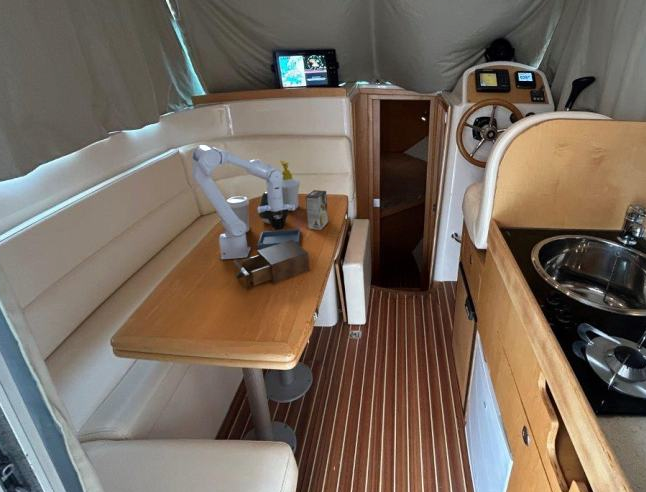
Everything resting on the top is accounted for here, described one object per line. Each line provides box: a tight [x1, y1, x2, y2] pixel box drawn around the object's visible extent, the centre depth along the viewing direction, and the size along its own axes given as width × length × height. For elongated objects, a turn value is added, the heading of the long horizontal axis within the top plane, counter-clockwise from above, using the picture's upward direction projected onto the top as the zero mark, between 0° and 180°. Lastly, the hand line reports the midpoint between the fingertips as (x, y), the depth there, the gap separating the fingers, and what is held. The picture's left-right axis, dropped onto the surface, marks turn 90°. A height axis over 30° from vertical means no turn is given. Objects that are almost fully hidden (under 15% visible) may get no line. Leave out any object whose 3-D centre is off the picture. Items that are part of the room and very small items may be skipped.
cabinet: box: [257, 240, 310, 285], centre depth 131 cm, size 14×13×8 cm
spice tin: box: [273, 214, 285, 231], centre depth 151 cm, size 4×4×5 cm
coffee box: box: [305, 189, 329, 231], centre depth 166 cm, size 9×6×16 cm
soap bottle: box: [279, 160, 301, 212], centre depth 183 cm, size 13×13×25 cm
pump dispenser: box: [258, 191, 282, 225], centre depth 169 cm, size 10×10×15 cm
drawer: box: [233, 254, 273, 291], centre depth 125 cm, size 14×11×6 cm
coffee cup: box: [226, 195, 250, 233], centre depth 159 cm, size 10×10×15 cm
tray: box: [257, 228, 301, 250], centre depth 153 cm, size 16×12×2 cm
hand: (278, 226), depth 151 cm, fingers closed on spice tin, 4 cm apart
